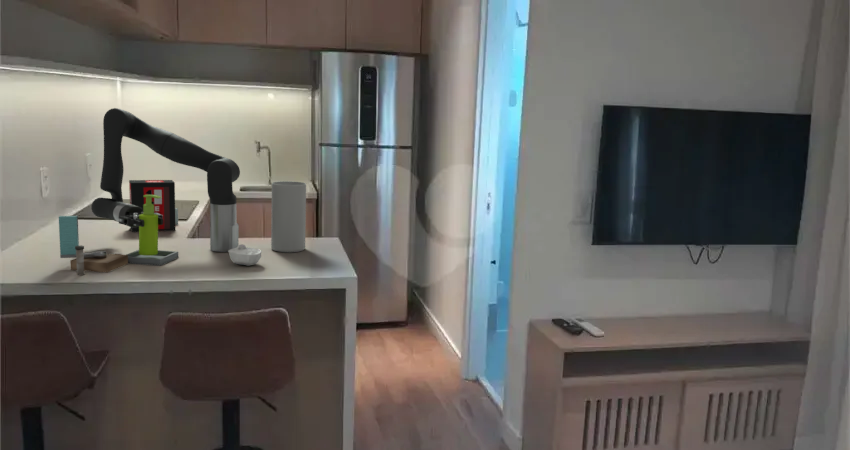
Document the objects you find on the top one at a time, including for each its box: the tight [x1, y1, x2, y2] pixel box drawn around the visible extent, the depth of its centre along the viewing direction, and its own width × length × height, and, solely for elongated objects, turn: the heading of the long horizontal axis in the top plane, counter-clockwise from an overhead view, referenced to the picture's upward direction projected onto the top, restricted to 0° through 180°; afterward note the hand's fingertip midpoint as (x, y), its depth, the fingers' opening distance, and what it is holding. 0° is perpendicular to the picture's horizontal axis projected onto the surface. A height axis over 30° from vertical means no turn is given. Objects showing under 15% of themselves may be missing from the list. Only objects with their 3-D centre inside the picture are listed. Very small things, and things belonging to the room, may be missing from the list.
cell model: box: [228, 243, 262, 267], centre depth 227 cm, size 10×12×7 cm
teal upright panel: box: [58, 215, 108, 259], centre depth 213 cm, size 13×4×13 cm, turn 108°
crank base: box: [69, 245, 129, 276], centre depth 213 cm, size 12×18×9 cm
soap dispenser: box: [138, 195, 161, 255], centre depth 226 cm, size 6×7×20 cm
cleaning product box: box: [128, 179, 176, 233], centre depth 279 cm, size 16×9×20 cm, turn 117°
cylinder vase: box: [270, 180, 307, 253], centre depth 252 cm, size 12×12×25 cm
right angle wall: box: [175, 207, 179, 226], centre depth 297 cm, size 12×12×8 cm
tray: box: [125, 249, 179, 267], centre depth 228 cm, size 14×13×2 cm
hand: (152, 222), depth 224 cm, fingers closed on soap dispenser, 6 cm apart
